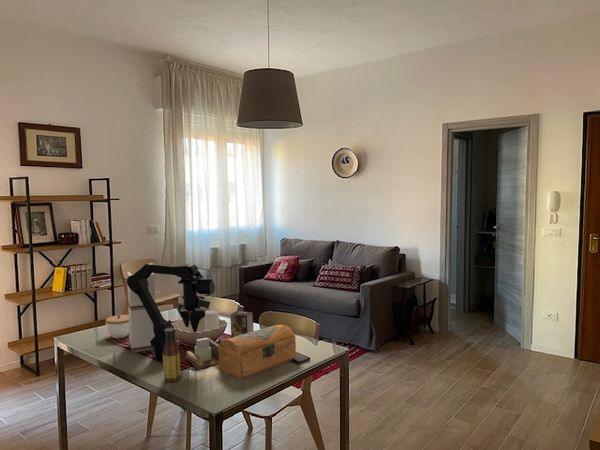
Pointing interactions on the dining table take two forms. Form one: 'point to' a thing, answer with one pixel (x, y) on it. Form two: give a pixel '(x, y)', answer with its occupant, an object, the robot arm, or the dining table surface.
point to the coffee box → (241, 323)
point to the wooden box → (257, 351)
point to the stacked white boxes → (140, 319)
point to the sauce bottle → (171, 356)
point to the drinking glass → (211, 320)
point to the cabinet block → (203, 349)
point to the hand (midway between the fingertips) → (191, 329)
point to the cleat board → (214, 360)
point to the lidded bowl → (118, 325)
